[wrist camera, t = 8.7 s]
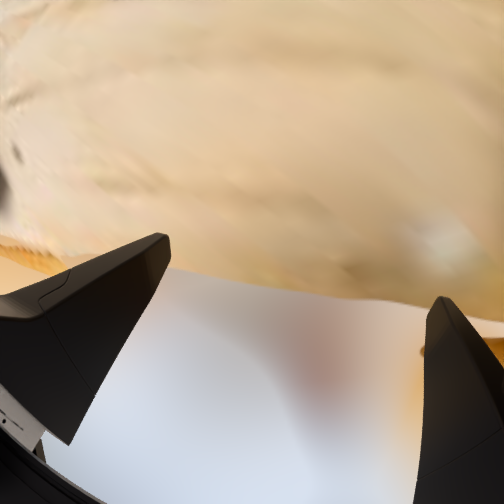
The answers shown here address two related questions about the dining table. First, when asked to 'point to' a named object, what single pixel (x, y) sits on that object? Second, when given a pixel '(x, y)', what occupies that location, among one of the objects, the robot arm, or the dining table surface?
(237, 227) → the dining table surface
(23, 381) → the robot arm
